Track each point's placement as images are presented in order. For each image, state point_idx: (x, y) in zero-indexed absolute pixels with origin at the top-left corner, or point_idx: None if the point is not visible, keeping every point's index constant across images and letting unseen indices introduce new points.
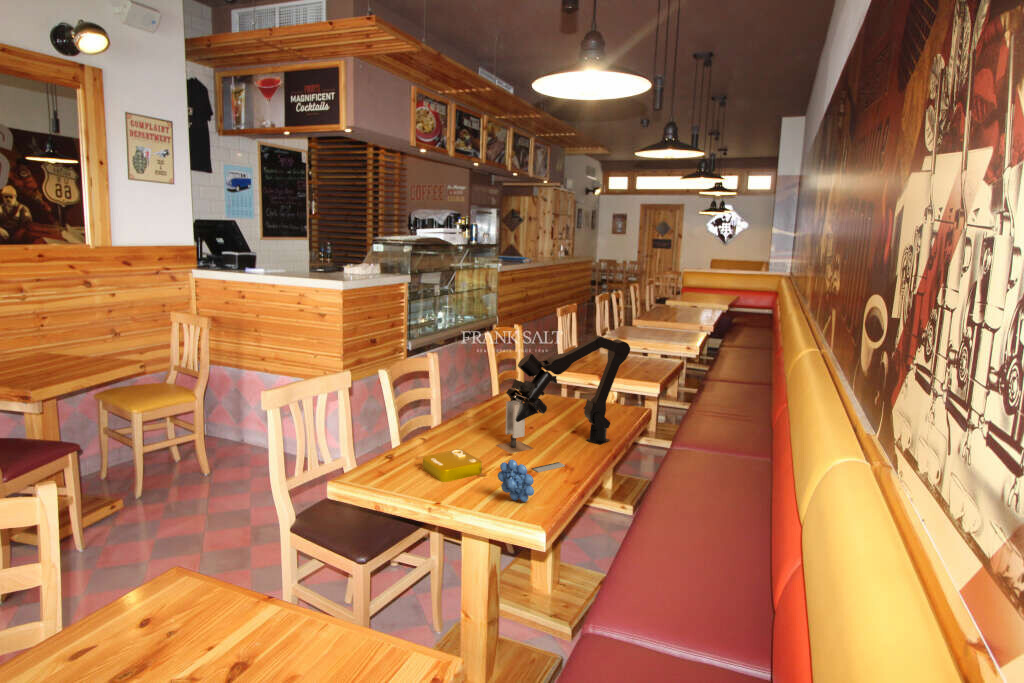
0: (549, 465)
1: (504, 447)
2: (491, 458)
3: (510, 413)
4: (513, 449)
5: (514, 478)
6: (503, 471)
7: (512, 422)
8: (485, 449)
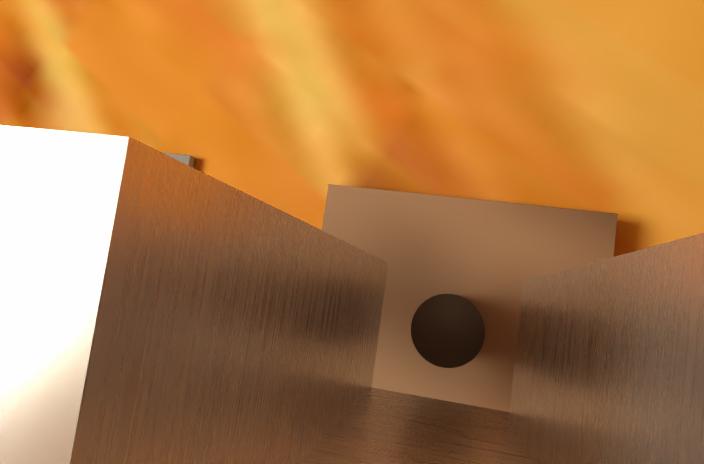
0: None
1: (494, 241)
2: (393, 22)
3: (587, 370)
4: (391, 274)
5: None
6: None
7: (535, 394)
8: (626, 109)
